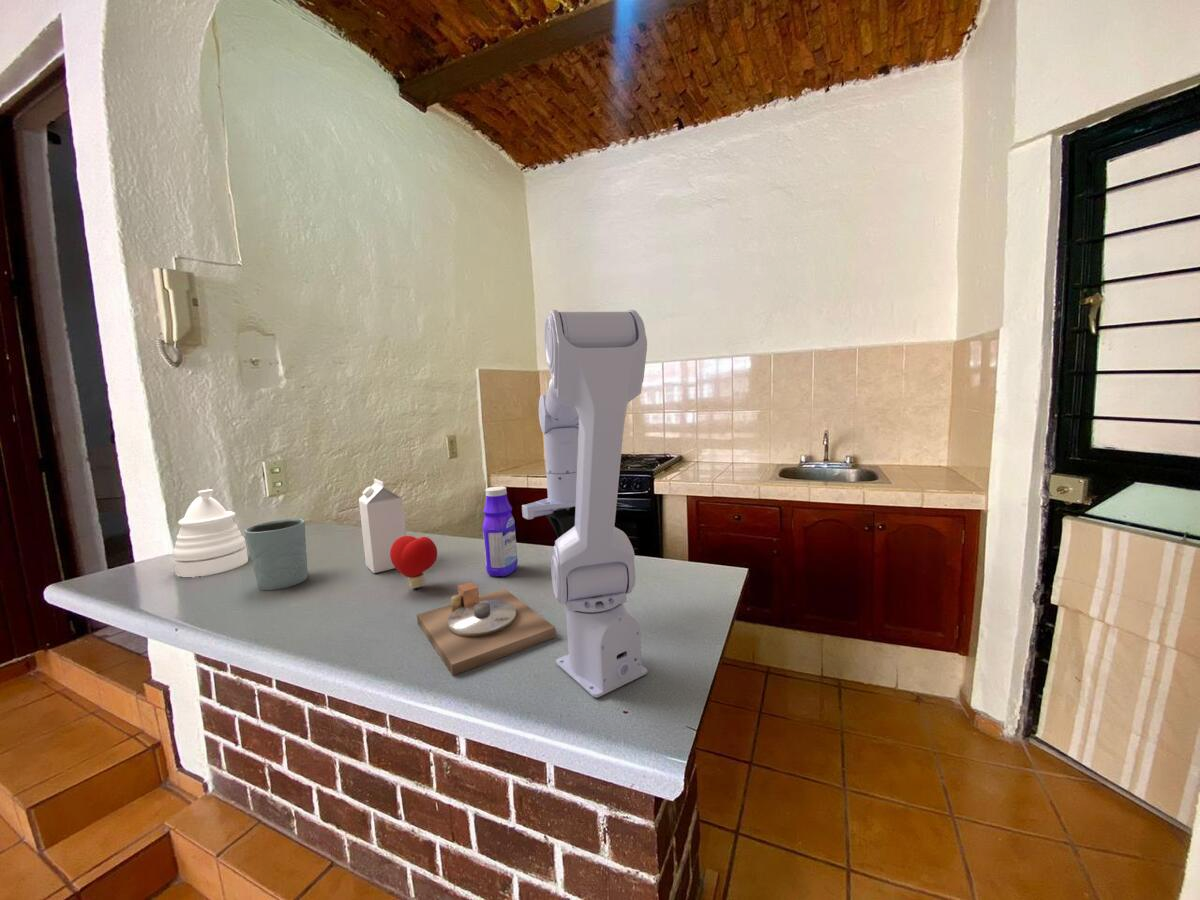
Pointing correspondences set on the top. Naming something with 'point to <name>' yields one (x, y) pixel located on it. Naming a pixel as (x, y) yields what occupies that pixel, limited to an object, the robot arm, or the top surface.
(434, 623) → the mounting board
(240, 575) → the top surface
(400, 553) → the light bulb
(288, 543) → the teal cylindrical pot
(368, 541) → the milk carton
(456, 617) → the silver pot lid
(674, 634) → the top surface
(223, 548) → the honey pot
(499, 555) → the bottle
